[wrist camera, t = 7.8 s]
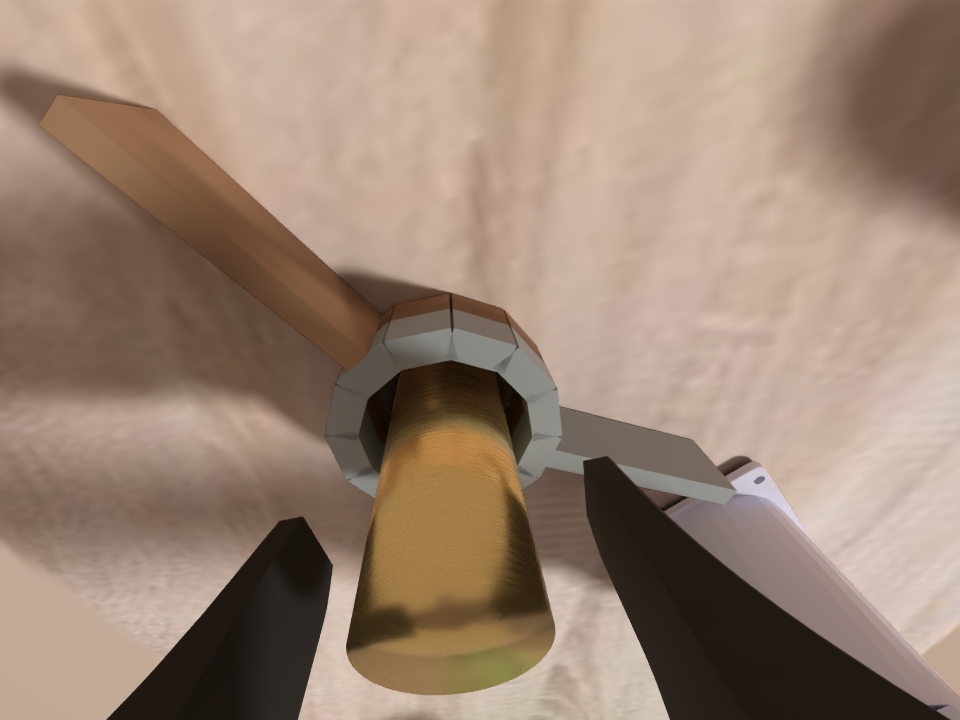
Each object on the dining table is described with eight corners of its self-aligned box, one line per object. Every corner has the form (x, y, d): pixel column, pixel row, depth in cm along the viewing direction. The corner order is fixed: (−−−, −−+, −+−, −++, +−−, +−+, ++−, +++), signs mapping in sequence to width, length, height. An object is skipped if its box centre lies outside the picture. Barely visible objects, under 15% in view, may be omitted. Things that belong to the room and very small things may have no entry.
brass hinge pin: (515, 399, 16) (589, 646, 8) (437, 445, 17) (433, 712, 9) (459, 326, 14) (481, 553, 6) (375, 382, 15) (299, 645, 7)
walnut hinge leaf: (576, 389, 16) (602, 436, 13) (442, 484, 18) (442, 542, 15) (230, 4, 9) (147, -54, 7) (80, 217, 11) (-30, 237, 9)
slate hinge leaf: (696, 445, 18) (741, 495, 15) (528, 547, 20) (541, 606, 18) (510, 198, 12) (529, 211, 9) (306, 384, 15) (277, 435, 12)
